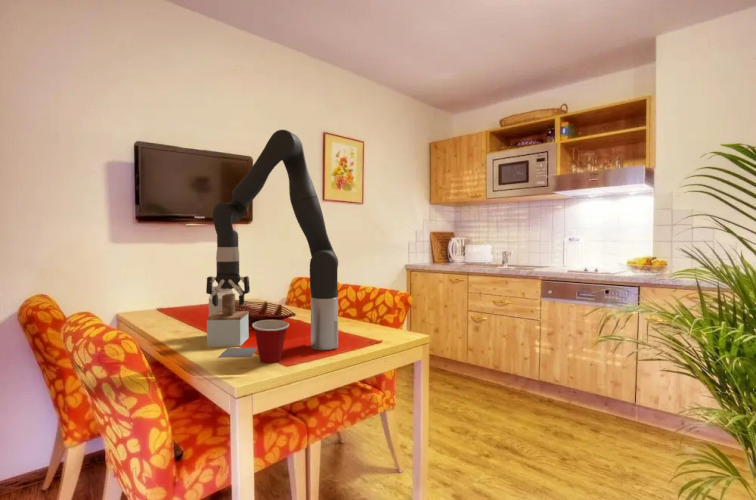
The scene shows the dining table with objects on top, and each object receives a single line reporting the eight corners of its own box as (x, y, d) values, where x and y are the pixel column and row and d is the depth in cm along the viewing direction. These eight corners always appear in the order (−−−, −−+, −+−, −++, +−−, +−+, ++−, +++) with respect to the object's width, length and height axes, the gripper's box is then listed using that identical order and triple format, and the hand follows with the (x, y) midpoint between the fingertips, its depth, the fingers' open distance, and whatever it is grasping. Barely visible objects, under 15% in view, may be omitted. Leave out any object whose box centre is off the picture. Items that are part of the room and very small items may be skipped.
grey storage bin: (248, 339, 146) (248, 313, 145) (240, 347, 135) (240, 320, 134) (217, 339, 145) (217, 313, 145) (207, 348, 134) (206, 320, 134)
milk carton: (228, 338, 146) (227, 287, 145) (209, 338, 146) (208, 287, 146) (235, 334, 153) (234, 285, 153) (217, 334, 153) (216, 285, 153)
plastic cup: (265, 371, 112) (265, 329, 111) (245, 363, 119) (244, 323, 118) (296, 361, 120) (296, 322, 120) (275, 354, 127) (275, 317, 127)
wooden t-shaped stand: (248, 313, 146) (248, 292, 146) (240, 319, 135) (240, 297, 135) (218, 313, 145) (217, 292, 145) (207, 320, 134) (207, 297, 134)
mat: (258, 349, 133) (258, 347, 133) (250, 358, 123) (250, 356, 123) (227, 349, 132) (227, 348, 132) (217, 359, 122) (217, 357, 122)
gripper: (251, 259, 143) (251, 303, 144) (210, 259, 142) (211, 304, 143) (245, 260, 136) (246, 307, 136) (203, 260, 135) (203, 308, 135)
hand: (228, 305), depth 139 cm, fingers open, 8 cm apart
